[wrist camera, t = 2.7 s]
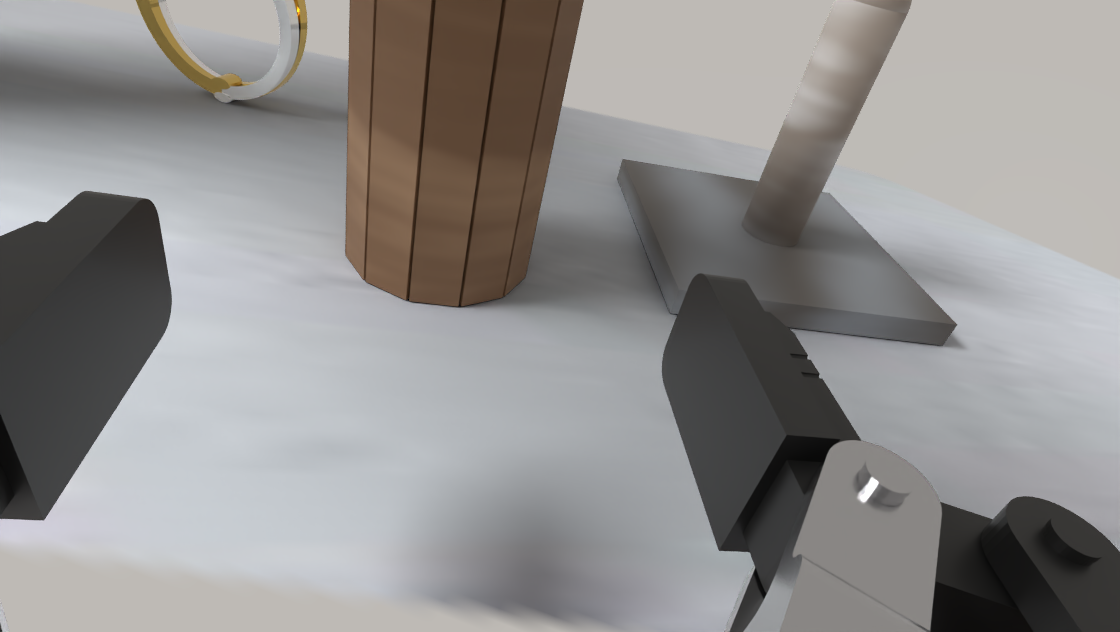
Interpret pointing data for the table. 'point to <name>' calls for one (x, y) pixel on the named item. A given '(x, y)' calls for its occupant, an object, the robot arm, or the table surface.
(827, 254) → the grey post stand
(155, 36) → the ring
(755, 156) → the table surface
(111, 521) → the table surface
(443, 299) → the wooden slatted cup
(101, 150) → the table surface
